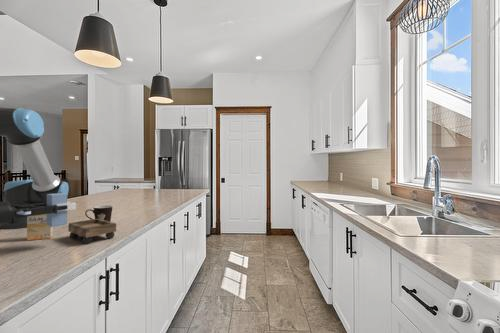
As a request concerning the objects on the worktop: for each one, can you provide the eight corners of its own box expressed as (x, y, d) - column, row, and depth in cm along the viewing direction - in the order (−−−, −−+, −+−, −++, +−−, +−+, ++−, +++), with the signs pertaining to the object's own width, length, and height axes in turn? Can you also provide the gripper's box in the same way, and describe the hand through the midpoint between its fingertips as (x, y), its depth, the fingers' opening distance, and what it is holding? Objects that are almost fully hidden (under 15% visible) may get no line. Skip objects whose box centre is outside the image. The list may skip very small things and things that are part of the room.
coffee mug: (115, 224, 136) (116, 205, 136) (105, 228, 128) (105, 208, 127) (95, 223, 137) (95, 204, 137) (83, 227, 129) (83, 207, 129)
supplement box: (26, 241, 105) (26, 209, 105) (29, 238, 109) (30, 207, 109) (51, 238, 109) (51, 208, 109) (53, 235, 113) (54, 206, 113)
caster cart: (68, 238, 110) (68, 223, 110) (97, 232, 120) (97, 218, 120) (85, 245, 101) (86, 228, 101) (115, 238, 111) (116, 223, 111)
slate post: (46, 225, 99) (46, 194, 99) (61, 222, 103) (61, 193, 103) (51, 227, 96) (51, 195, 96) (67, 224, 100) (67, 194, 100)
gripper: (-15, 221, 90) (62, 211, 109) (0, 229, 80) (82, 217, 99) (-15, 200, 89) (63, 194, 109) (0, 205, 79) (82, 197, 99)
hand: (72, 205), depth 104 cm, fingers closed on slate post, 5 cm apart
